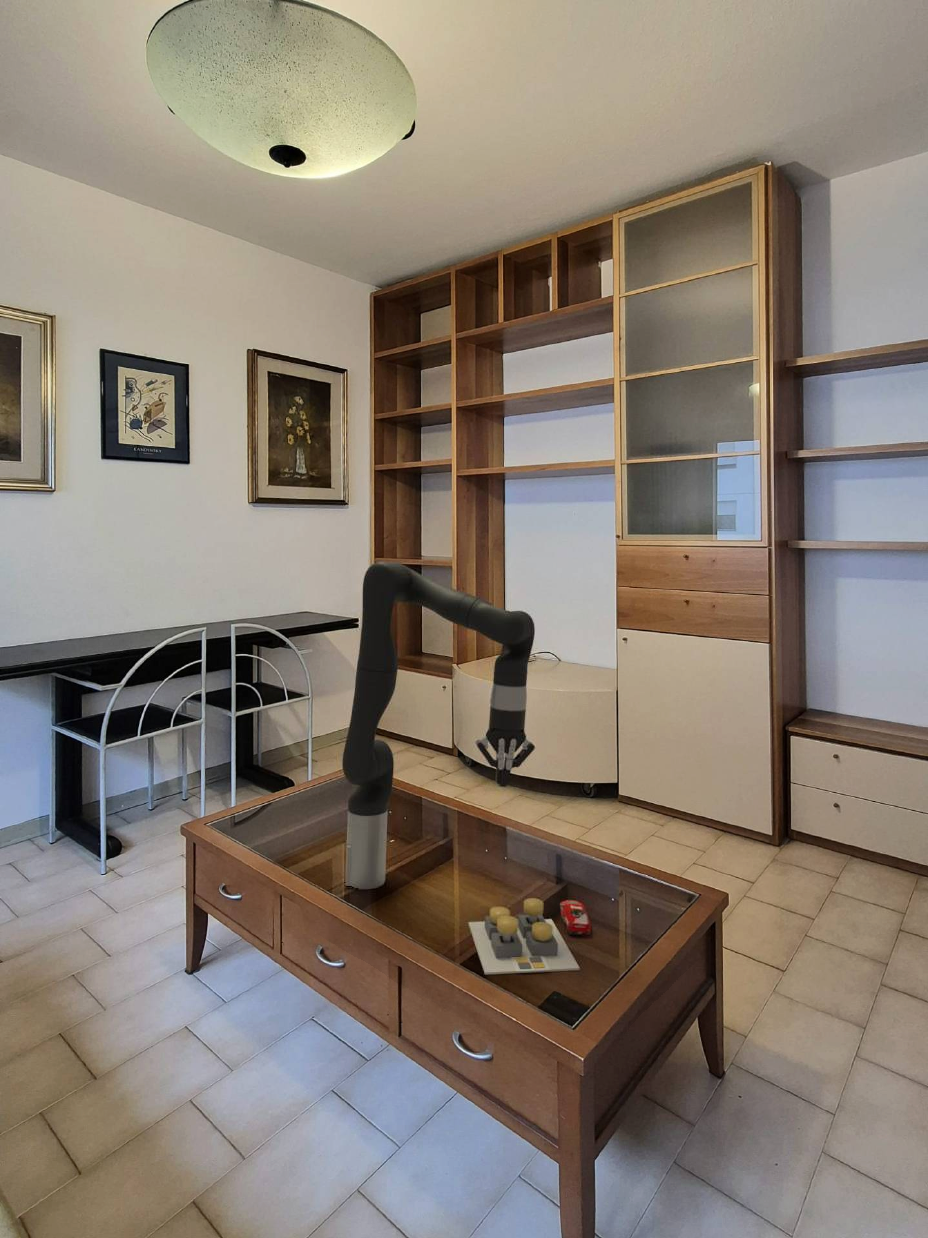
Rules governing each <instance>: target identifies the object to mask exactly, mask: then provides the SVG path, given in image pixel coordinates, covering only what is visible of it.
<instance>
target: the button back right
mask: <svg viewBox="0 0 928 1238" xmlns="http://www.w3.org/2000/svg"><path fill="white" fill-rule="evenodd" d="M523 913H524V914H525V915H529V924H533V923H536V922H537V916H539V915H542V916H543V914H544V902H543V901H542V900H541V899H539V898H534V897H532V898H531V897H530V898H527V899H524V901H523Z"/></svg>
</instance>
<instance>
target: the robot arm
mask: <svg viewBox="0 0 928 1238" xmlns="http://www.w3.org/2000/svg"><path fill="white" fill-rule="evenodd" d="M400 602H401V603H408V604H411V605H415V606H420V607H423V608H426V609H428V610H430V611H432V612H434V613H436V614H437V615H438V616H440V617H442V618H443V619H445V620H447V621H448V622H451V623H453V624H455V625H458V626H460V627H463V628H466V629H468V630H471V631H474V632H477V633H479V634H480V635H483V636H485V637H486V638H488V639H489V640H491V641H493V642H496V643H498V644H501V645H502V646H501V651H500V654H499V655H498V657H496V659H495V661H494V667H493V668H494V669H493V680H492V681H493V682H492V688H491V693H490V700H489V703H490V707H489V719H488V729H487V731H486V733H485V736H484V737H483V738H481V739H480V740H479V739H477V740H476V741H475V746H477V748H478V750H479V751H480V752H481V754H482V756H483V757H484V758H485V760H486V761H487V763H488V764H489V765H490V766H491V767H494V768H495V769H496V770H495V782H496V784H497V785H498V786H499V787H501V788H507V786H508V785H510V783H511V771H512V769H513V768H520V767H521V765H522V764H523V763H524V762H525V761H526V760H527V758H528V757H529V756H530V755H531V754H532V753H533V752H534V750H536V749H535V748H536V747H535V745H534V743H533V742H531V741H529V740H528V739H527V735H526V732H525V725H526V714H527V711H526V710H527V697H528V693H527V682H528V680H527V679H528V664H529V661H530V658H531V653H532V649H533V646H534V641H535V629H536V628H535V622H534V620H533V618H532V616H531V615H530V614H529V613H528V612H526V611H522V610H506V609H503V608H500V607H497V606H495V605H493V604H492V603H491V602H490V601H488V600H487V599H484V598H481V597H478V596H475V595H472V594H470V593H467V592H464V591H460V590H458V589H456V588H455V589H454V588H452V587H448V586H446V585H443V584H441V583H437V581H434V580H431V579H429V578H427V577H426V576H424V575H422V574H420V573H419V572H417V571H415V570H413V569H411V568H410V567H408V566H406V565H405V564H402V563H400V562H394V561H393V562H392V561H391V562H390V561H388V562H387V561H378V562H374V563H373V564H371V565H370V566H369V567H368V568H367V569H366V571H365V574H364V577H363V581H362V612H361V613H362V615H361V629H360V641H359V649H358V650H359V651H358V657H357V663H356V674H355V683H354V693H353V701H352V706H351V707H352V709H351V714H350V720H349V721H350V722H349V727H348V731H347V735H346V740H345V743H344V744H345V745H344V749H343V753H342V761H341V763H342V764H341V765H342V772H343V774H344V777H345V779H346V780H347V781H348V783H350V784H352V785H354V786H358V787H357V788H356V790H355V791H354V792H353V793H352V794H351V795H350V796H349V798H348V801H347V828H346V851H345V852H346V853H345V855H346V857H345V882H346V883H345V885H347V886H352V887H354V888H353V889H356V888H358V889H357V890H371V889H372V890H373V889H377V888H379V887H381V886H383V885H384V884H385V883H386V882H385V881H386V867H387V866H386V863H387V861H386V859H387V858H386V857H387V836H388V835H387V833H388V806H389V802H390V799H391V798H392V792H393V781H394V780H393V779H394V767H395V761H394V760H395V759H394V756H393V755H394V754H393V751H392V748H391V747H390V746H389V744H388V743H387V742H385V741H384V740H381V739H376V733H377V729H378V726H379V723H380V721H381V719H382V717H383V715H384V713H385V711H386V709H387V708H388V706H389V704H390V702H391V700H392V699H393V695H394V692H395V689H396V686H397V685H396V684H397V679H398V678H397V677H398V667H399V660H398V652H397V648H396V645H395V642H394V637H393V633H392V618H393V611H394V605H395V603H400ZM488 744H490V746H491V747H492V749H493V750H494V751H495V758H493V756H492V755H491V754H490V752H489V751H488V749H489V745H488ZM520 748H521V750H520V751H519V752H518V754H516V755H515V753H516V752H517V751H518V750H519V749H520ZM345 885H344V886H345ZM352 887H351V888H352Z"/></svg>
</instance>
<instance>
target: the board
mask: <svg viewBox="0 0 928 1238" xmlns="http://www.w3.org/2000/svg"><path fill="white" fill-rule="evenodd" d="M517 920H518V931H517V933H515V934H512V935H511V942H509V943H503V934H502V933H500V932H498V931H497V925H495V924H494V923H492V922H491V921H490V915H485V916H484V921H468V924H467V925H468V927H469V930H470V934H471V936H472V939H473V942H474V945H475V949H476V951H477V955H478V958H479V961H480V964H481V967H482V970H483V973H484V975H502V974H503V975H504V974H505V975H506V974H507V975H508V974H524V973H525V974H527V973H530V974H531V973H546V972H547V973H550V972H567V971H580V969H581V968H580V966H579V965H578V962H577V961H576V959H575V957H574V956H573V954H572V952H571V951H570V949H569V947H568V945H567V944H566V942H565V940H564V938H563V937H562V935H561V933H560V931H559V930H558V928H557V926H556V924H555V923H554V921H553V920H552V918H548V919H547V918H546V919H545V918H544V916H543V914H542V915H539V916H537V922H545V923H548V924H550V925H552V927H553V932H552V939H551V940H548V941H538V940H536V939H534V938H533V937H532V925H533V924H534V923H533V924H529V915H527V914H518V916H517Z"/></svg>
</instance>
